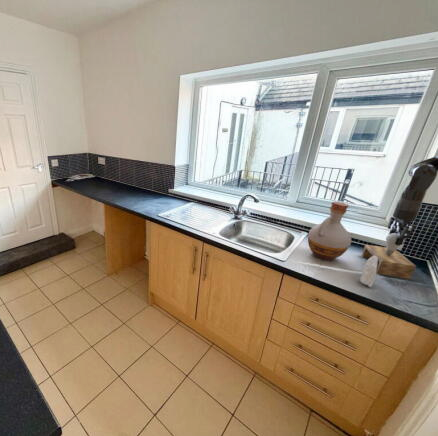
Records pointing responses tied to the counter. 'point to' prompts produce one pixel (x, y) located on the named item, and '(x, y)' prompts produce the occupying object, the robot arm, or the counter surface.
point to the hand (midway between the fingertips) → (393, 241)
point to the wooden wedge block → (390, 262)
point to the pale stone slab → (369, 271)
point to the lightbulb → (391, 243)
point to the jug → (330, 235)
